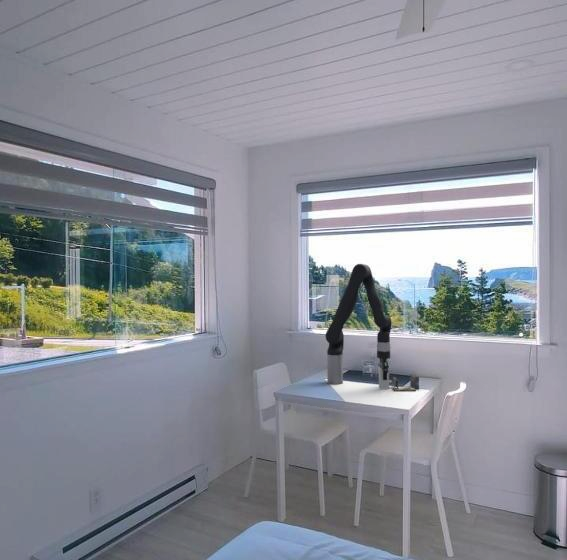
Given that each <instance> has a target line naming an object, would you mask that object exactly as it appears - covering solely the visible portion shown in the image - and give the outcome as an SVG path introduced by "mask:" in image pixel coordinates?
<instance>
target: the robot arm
mask: <svg viewBox="0 0 567 560" xmlns="http://www.w3.org/2000/svg"><path fill="white" fill-rule="evenodd" d="M362 284H363V286H364V289H365V292H366V297H367V301H368V304H369V306H370V309H371V311H372V316H373V321H374V323H375V325H376V326H377V328H379V331H378V332H377V334H376V336H377V337H376V339H377V340H376V341H377V342H376V357H377V359H379V364H380V365H381V367H382V370H383V380H387V373H388V366H389V361H388V360H389V359H390V358H391V342H390V341H391V339H390V338H391V337H390V334H391V329H392V318H391V317H390V315H387V314H385V313H384V310H385V309H384V308H385V307H384V304H383V302H382V299H381V297H380V295H379V293H378V290H377V288H376V287H377V286H376V285H375V280H374V277H373V273H372V270H371V267H370V266H369V265H367V264H364V263H358V264H357V263H356V264H355V266H354V267H353V268H352V271H351V273H350V277H349V280H348V284H347V286H346V287H345V290H344V291H343V294H342V296H341V298H340V301H339V304H338V306H337V308H336V312H335V315H334V316H333V320H332V321H331V323H330V325H329V327H328V328H327V331H326V332H325V340H326V341H327V343H328V347H327V349H326V352H327V353H326V354H327V355H326V356H327V358H326V361H327V362H326V363H327V365H326V369H327V371H326V372H327V373H326V376H327V377H326V379H327V380H326V381H327V384H331V385H340V384H343V383H344V382H343V381H344V377H343V375H344V371H343V369H344V368H343V367H344V366H343V359H344V357H343V356H344V355H343V354H344V353H343V351H344V344H345V343H344V339H345V338H344V337H345V336H344V331H343V328H344V326H345V324H346V323H347V321H348V319H350V317H351V315H352V314H353V312H354V310H355V308H356V305H357V303H358V297H359V290H360V287H361V285H362ZM384 370H386V371H384Z"/></svg>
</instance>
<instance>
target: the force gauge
mask: <svg viewBox="0 0 567 560" xmlns="http://www.w3.org/2000/svg"><path fill="white" fill-rule="evenodd" d="M384 371H386V370H384ZM390 384H393V379H392V380H391V379H390V365H388V373H387V380H383V370H382V367H381V365H380V363H378V388H379V389H380V390H381V389H387V390H388V389H390Z"/></svg>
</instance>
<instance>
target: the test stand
mask: <svg viewBox="0 0 567 560" xmlns="http://www.w3.org/2000/svg"><path fill="white" fill-rule="evenodd" d="M409 377H410V378H409V380H410V383H409V385H410V387H399V389H397V387H392V388H391V389H392V391H393V392H416V391H417V390H419V389H420V377H419V375H417V374H416V373H410V374H409Z"/></svg>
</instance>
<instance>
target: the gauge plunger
mask: <svg viewBox="0 0 567 560" xmlns="http://www.w3.org/2000/svg"><path fill="white" fill-rule="evenodd" d="M392 384H393V385H394V388H397V389H399V388H400V386H399V379H397V377H396V376H393V377H392Z"/></svg>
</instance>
